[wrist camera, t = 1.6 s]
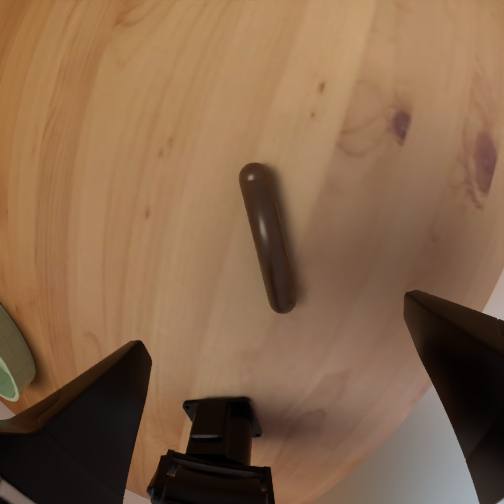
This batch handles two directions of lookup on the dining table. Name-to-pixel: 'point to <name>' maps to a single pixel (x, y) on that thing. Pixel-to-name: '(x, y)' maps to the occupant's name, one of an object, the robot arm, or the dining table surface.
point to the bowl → (13, 360)
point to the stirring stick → (268, 236)
